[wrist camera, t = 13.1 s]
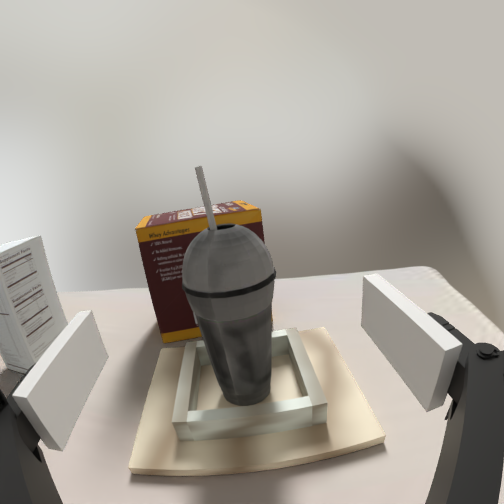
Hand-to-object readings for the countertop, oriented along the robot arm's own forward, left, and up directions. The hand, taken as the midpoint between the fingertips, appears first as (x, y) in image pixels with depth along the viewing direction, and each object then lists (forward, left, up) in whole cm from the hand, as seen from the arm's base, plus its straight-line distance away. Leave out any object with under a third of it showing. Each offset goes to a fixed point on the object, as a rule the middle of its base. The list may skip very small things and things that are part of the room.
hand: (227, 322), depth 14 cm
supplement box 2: (-4, +28, -14) cm, 31 cm away
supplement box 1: (-30, +19, -14) cm, 38 cm away
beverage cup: (0, +10, -13) cm, 16 cm away
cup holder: (0, +10, -14) cm, 17 cm away
